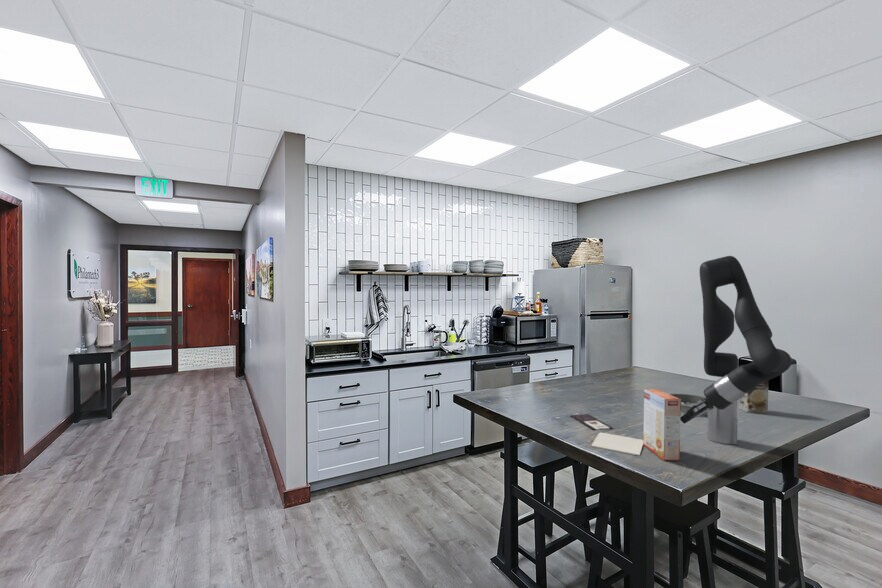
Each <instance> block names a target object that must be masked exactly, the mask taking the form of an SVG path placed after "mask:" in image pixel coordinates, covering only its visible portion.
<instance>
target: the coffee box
mask: <svg viewBox="0 0 882 588" xmlns="http://www.w3.org/2000/svg"><path fill="white" fill-rule="evenodd" d="M769 381H770V380H768V381H766V382H763V383H761V384H759V385H758V386H757V387H755V388H754V389H752V390H751V391H749V392H748V393H746V394H745V395H744V396H743V397H742V398H740V399H739V400H738V401H739V406H738V408H739V410H742V411H743V412H746V413H754V414H755V413H757V414H768V413H769V412H768V411H769V384H770V383H769Z"/></svg>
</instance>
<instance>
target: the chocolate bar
mask: <svg viewBox="0 0 882 588" xmlns="http://www.w3.org/2000/svg"><path fill="white" fill-rule="evenodd" d="M569 417H570V418H572V419H573V418H574V419H573V420H575V421H576V422H578V421H579V422H578V423H580V424H581V425H583V426H585V427H587V428H588V429H590V430H592V431H599V430H600V429H602V430H611V429H613V427H612V426H611V425H609V424H607V423H605V422H603V421H601V420H600V419H598V418H596V417H594V416H592V415H591V414H589V413H587V414H572V415H569Z"/></svg>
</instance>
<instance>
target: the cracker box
mask: <svg viewBox="0 0 882 588" xmlns="http://www.w3.org/2000/svg"><path fill="white" fill-rule="evenodd" d="M643 391H644V392H643V397H644V398H643V439H642V440H643V447H645V448H646V449H648V450H650V451H651V452H652V453H653V454H654V455H656V456H657V457H658V458H660V459H661V460H662V461H680V459H681V458H680V457H681V456H680V454H681V420H680V419H681V417H682V416H681V414H682V413H681V399H679V398H677V397H674V396H672V395H670V394H671V393H667V392H666V391H663V390H661V389H659V388H658V389H657V388H656V389H655V388H651V389H650V388H649V389H647V388H646V389H644V390H643Z"/></svg>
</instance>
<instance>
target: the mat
mask: <svg viewBox="0 0 882 588" xmlns="http://www.w3.org/2000/svg"><path fill="white" fill-rule="evenodd" d="M590 447H593V448H597V449H601V450H602V449H603V450H607V451H612V452H617V453H623V454H628V455H633V456H638V457H640V456H641V454H642V449H643V447H644V445H643V439H640V438H639V439H638V438H634V437H628V436H623V435H622V436H621V435H617V434H611V433H606V432H601V431H600V432H599V433H598V434H597V435H596V437H595V439H594V440H593V442H592V444H590Z"/></svg>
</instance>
